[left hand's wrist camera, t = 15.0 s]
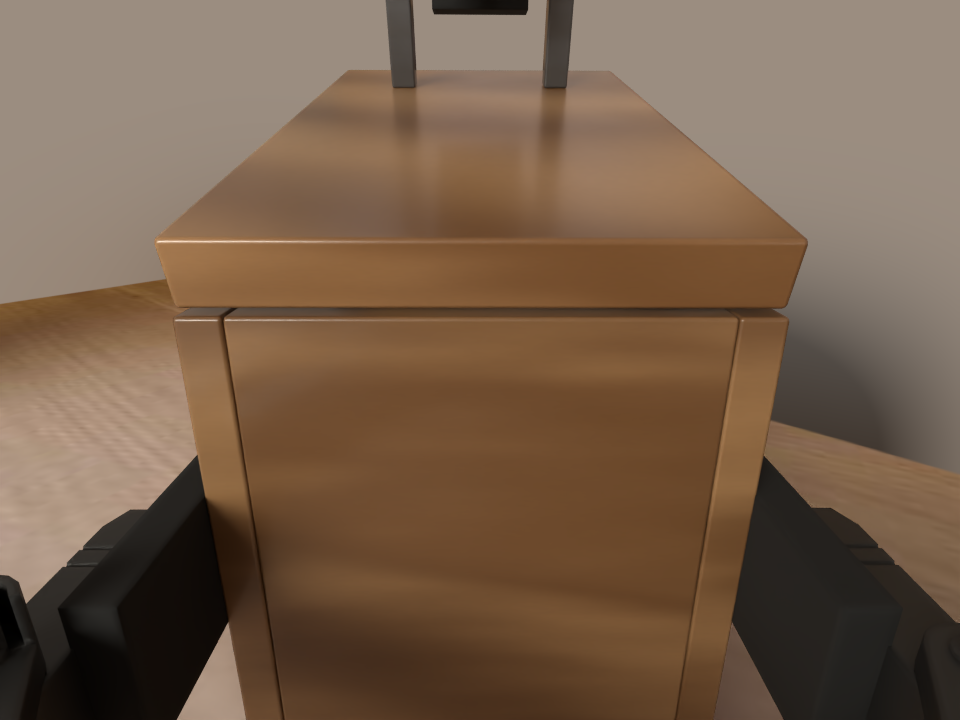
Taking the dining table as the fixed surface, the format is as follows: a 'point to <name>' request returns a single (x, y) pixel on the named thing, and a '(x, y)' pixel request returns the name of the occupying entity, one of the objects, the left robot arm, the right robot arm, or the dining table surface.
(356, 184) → the lid
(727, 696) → the dining table surface
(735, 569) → the chest
